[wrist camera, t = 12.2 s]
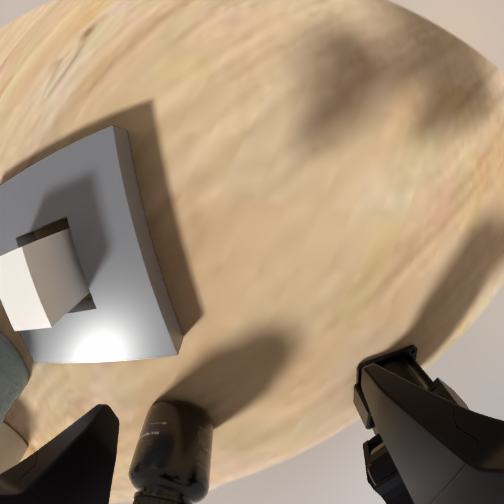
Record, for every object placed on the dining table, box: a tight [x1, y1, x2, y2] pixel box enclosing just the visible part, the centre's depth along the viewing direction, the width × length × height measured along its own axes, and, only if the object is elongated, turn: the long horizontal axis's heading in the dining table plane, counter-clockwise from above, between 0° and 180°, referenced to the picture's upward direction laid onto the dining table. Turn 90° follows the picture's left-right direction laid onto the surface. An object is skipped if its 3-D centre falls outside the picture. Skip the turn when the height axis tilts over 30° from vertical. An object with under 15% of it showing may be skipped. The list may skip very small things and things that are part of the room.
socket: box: [0, 125, 183, 363], centre depth 17 cm, size 16×16×2 cm
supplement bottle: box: [129, 401, 213, 504], centre depth 17 cm, size 7×7×12 cm
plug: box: [0, 228, 90, 331], centre depth 15 cm, size 4×5×7 cm
